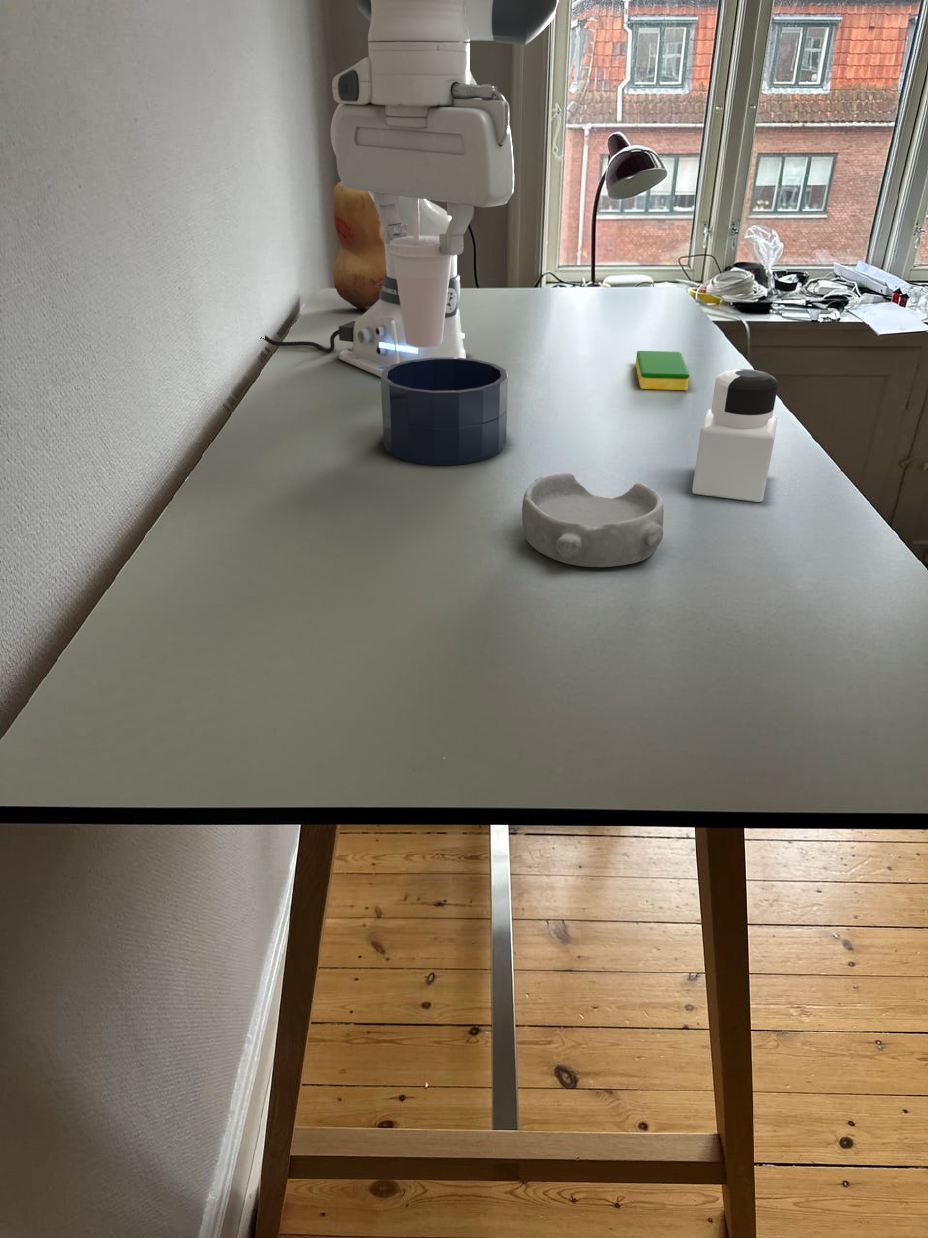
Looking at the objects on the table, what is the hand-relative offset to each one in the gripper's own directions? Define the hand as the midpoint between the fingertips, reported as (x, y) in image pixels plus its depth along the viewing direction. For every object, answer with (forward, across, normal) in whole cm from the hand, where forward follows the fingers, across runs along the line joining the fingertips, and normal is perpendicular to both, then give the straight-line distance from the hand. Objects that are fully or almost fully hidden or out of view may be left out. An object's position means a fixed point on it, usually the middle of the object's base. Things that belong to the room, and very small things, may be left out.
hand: (422, 248), depth 86 cm
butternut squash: (+28, +78, -60) cm, 102 cm away
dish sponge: (+27, +7, -59) cm, 65 cm away
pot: (+26, +10, -14) cm, 32 cm away
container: (+26, -24, -26) cm, 44 cm away
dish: (+26, -21, -3) cm, 33 cm away
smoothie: (+9, 0, 0) cm, 9 cm away
